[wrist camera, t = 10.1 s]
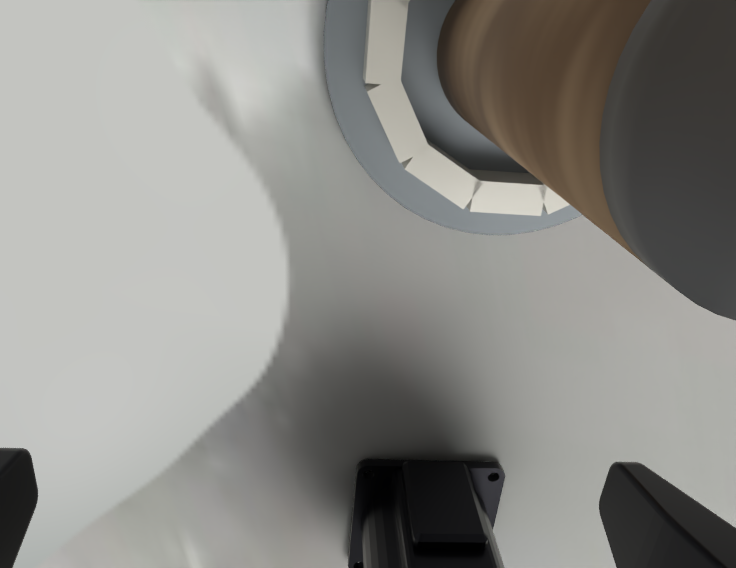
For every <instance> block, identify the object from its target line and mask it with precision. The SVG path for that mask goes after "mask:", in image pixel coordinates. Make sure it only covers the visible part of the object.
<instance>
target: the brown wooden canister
mask: <svg viewBox="0 0 736 568" xmlns="http://www.w3.org/2000/svg"><path fill="white" fill-rule="evenodd" d="M437 69H438V76H439V80H440V83H441V87H442V89H443V92H444V94H445V96H446V98H447V100H448V101H449V103H450V105H451V106H452V107H453V109H454V110H455V111H456V113H457V114H458V115H460V116H461V117H462V118H463V119H464V120H465V121H466V122H467V123H469V124H470V125H471V126H472V127H474V128H475V129H476V130H477V131H479V132H480V133H481V134H482V135H484V136H485V137H486V138H487V139H489V140H490V141H491V142H492V143H494V144H495V145H496V146H497V147H499V148H500V149H501V150H502V151H504V152H505V153H506V154H507V155H509V156H510V157H511V158H512V159H514V160H515V161H516V162H517V163H519V164H520V165H521V166H522V167H524V168H525V169H526V170H527V171H529V172H530V173H531V174H532V175H534V176H535V177H536V178H537V179H539V180H540V181H541V182H542V183H544V184H545V185H546V186H547V187H549V188H550V189H551V190H552V191H554V192H555V193H556V194H557V195H559V196H560V197H561V198H562V199H564V200H565V201H566V202H568V203H569V204H570V205H571V206H573V207H574V208H575V209H576V210H578V211H579V212H580V213H581V214H583V215H584V216H585V217H586V218H588V219H589V220H590V221H591V222H593V223H594V224H595V225H596V226H598V227H599V228H600V229H601V230H603V231H604V232H605V233H606V234H608V235H609V236H610V237H611V238H613V239H614V240H615V241H616V242H618V243H619V244H620V245H621V246H623V247H624V248H625V249H626V250H628V251H629V252H630V253H631V254H633V255H634V256H635V257H636V258H638V259H639V260H640V261H641V262H643V263H644V264H645V265H646V266H648V267H649V268H650V269H651V270H653V271H654V272H655V273H656V274H658V275H659V276H660V277H661V278H663V279H664V280H665V281H666V282H668V283H669V284H670V285H671V286H673V287H674V288H675V289H676V290H678V291H679V292H680V293H682V294H683V295H684V296H686V297H687V298H689V299H690V300H691V301H693V302H694V303H696V304H697V305H699V306H701V307H703V308H705V309H707V310H709V311H711V312H713V313H715V314H717V315H720V316H723V317H727V318H730V319H733V320H736V0H455V1H454V3H453V4H452V6H451V8H450V9H449V11H448V13H447V15H446V17H445V20H444V22H443V25H442V28H441V31H440V35H439V40H438V47H437Z"/></svg>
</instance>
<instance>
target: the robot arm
mask: <svg viewBox="0 0 736 568" xmlns="http://www.w3.org/2000/svg"><path fill="white" fill-rule="evenodd" d="M366 470H371V472H369V473H366V472H364V471H366ZM491 473H495V474H494V475H490V474H491ZM504 479H505V474H504V471H503V468H502V466H501V465H500V464H499V463H496V462H474V461H429V460H384V459H366V460H363V461H361V462H360V463H359V464H358V465H357V468H356V478H355V489H354V499H353V510H352V521H351V532H350V543H349V554H348V567H349V568H504V565H503V562H502V559H501V555H500V552H499V549H498V546H497V543H496V540H495V536H494V533H493V527H494V523H495V518H496V514H497V509H498V505H499V501H500V496H501V492H502V487H503V483H504ZM37 500H38V488H37V483H36V478H35V473H34V468H33V463H32V458H31V455H30V453H29V451H28V450H26V449H23V448H0V568H13V565H14V562H15V560H16V557H17V555H18V552H19V549H20V547H21V544H22V542H23V539H24V536H25V534H26V531H27V528H28V526H29V523H30V521H31V518H32V516H33V513H34V510H35V508H36V504H37ZM599 510H600V516H601V519H602V522H603V525H604V529H605V532H606V535H607V538H608V541H609V545H610V548H611V551H612V554H613V557H614V560H615V564H616V567H617V568H736V528H735V527H733V526H732V525H730V524H729V523H728V522H726V521H725V520H723V519H722V518H720V517H719V516H717V515H716V514H714V513H713V512H711V511H710V510H709V509H707V508H706V507H704V506H703V505H701V504H700V503H698V502H697V501H695V500H694V499H692V498H691V497H689V496H688V495H687V494H685V493H684V492H682V491H681V490H679V489H678V488H676V487H675V486H673V485H672V484H670V483H669V482H668V481H666V480H665V479H663V478H662V477H660V476H659V475H657V474H656V473H654V472H653V471H651V470H650V469H648V468H647V467H646V466H644V465H642V464H641V463H637V462H615V463H613V464H612V465H611V467H610V469H609V472H608V475H607V478H606V481H605V484H604V488H603V491H602V494H601V497H600V501H599ZM358 562H359V563H358Z"/></svg>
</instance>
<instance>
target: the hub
mask: <svg viewBox="0 0 736 568" xmlns="http://www.w3.org/2000/svg"><path fill="white" fill-rule="evenodd" d="M454 1H455V0H328V3H327V10H326V19H325V28H324V63H325V71H326V78H327V85H328V91H329V94H330V98H331V102H332V106H333V109H334V113H335V116H336V118H337V121H338V123H339V126H340V128H341V131H342V133H343V135H344V138H345V140H346V141H347V143H348V145H349V147H350V148H351V150H352V152H353V154H354V155H355V157H356V159H357V160H358V161H359V163H360V164H361V165H362V167H363V168H364V169H365V171H366V172H367V173H368V175H369V176H370V177H371V178H372V179H373V180H374V181H375V182H376V183H377V184H378V185H379V186H380V187H381V188H382V189H383V190H384V191H385V192H386V193H387V194H388V195H389V196H390V197H392V198H393V199H394V200H396V201H397V202H398V203H400V204H401V205H402V206H404V207H405V208H406V209H408V210H410V211H412V212H414V213H415V214H417V215H419V216H421V217H422V218H424V219H426V220H429V221H431V222H434V223H436V224H439V225H441V226H444V227H447V228H451V229H455V230H459V231H463V232H468V233H476V234H484V235H512V234H520V233H527V232H534V231H538V230H541V229H545V228H549V227H553V226H556V225H559V224H561V223H564V222H567V221H569V220H572V219H574V218H577V217H579V216H581V215H582V214H581V213H580V212H579V211H578V210H576V209H575V208H574V207H573V206H571V205H570V204H569V203H568V202H566V201H565V200H564V199H562V198H561V197H560V196H559V195H557V194H556V193H555V192H554V191H552V190H551V189H550V188H549V187H547V186H546V185H545V184H544V183H542V182H541V181H540V180H539V179H537V178H536V177H535V176H534V175H532V174H531V173H530V172H529V171H527V170H526V169H525V168H524V167H522V166H521V165H520V164H519V163H517V162H516V161H515V160H514V159H512V158H511V157H510V156H509V155H507V154H506V153H505V152H504V151H502V150H501V149H500V148H499V147H497V146H496V145H495V144H494V143H492V142H491V141H490V140H489V139H487V138H486V137H485V136H484V135H482V134H481V133H480V132H479V131H477V130H476V129H475V128H474V127H472V126H471V125H470V124H469V123H467V122H466V121H465V120H464V119H463V118H462V117H461V116H460V115H458V114H457V113H456V111H455V110H454V109H453V107H452V106H451V105H450V103H449V101H448V100H447V98H446V96H445V94H444V92H443V89H442V87H441V83H440V80H439V76H438V69H437V47H438V40H439V35H440V31H441V28H442V25H443V22H444V20H445V17H446V15H447V13H448V11H449V9H450V8H451V6H452V4H453V3H454Z"/></svg>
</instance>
